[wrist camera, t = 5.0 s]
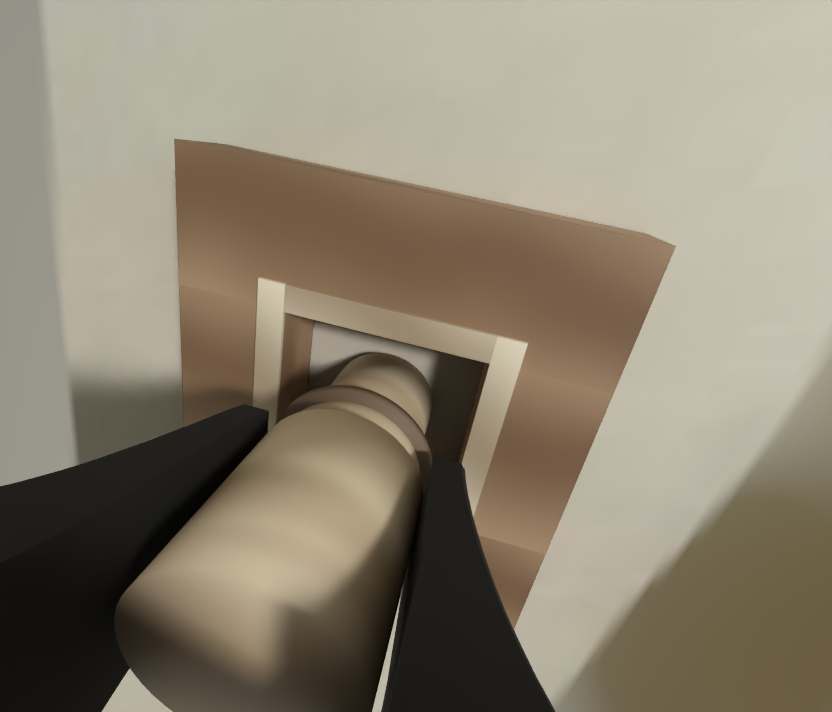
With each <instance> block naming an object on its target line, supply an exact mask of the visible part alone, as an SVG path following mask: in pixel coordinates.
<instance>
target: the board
mask: <svg viewBox="0 0 832 712" xmlns="http://www.w3.org/2000/svg"><path fill="white" fill-rule="evenodd" d="M174 144H175V174H176V205H177V235H178V266H179V296H180V327H181V357H182V388H183V418H184V427H186V426H188V425H191V424H193V423H196V422H198V421H201V420H203V419H206V418H208V417H211V416H213V415H216V414H218V413H221V412H223V411H226V410H229V409H231V408H234V407H237V406H240V405H243V404H246V405H250V406H253V407H257V408H260V409H264V410H268V411H269V419H268V432H269V431H270V430H271V428H272V427H274V426H275V424H276V422H277V420H278V419H279V417H280V416H281V414H282V413H283V412H284V411H285V410H286V408H287V407H288V406H289V405H290V404H291V403H292V402H293V401H295V400H296V399H297V398H298V397H300V396H301V395H303V394H304V393H306V392H307V385H308V375H309V365H310V355H311V345H312V335H313V324H314V320H317V321H321V322H325V323H329V324H333V325H337V326H341V327H345V328H349V329H353V330H357V331H361V332H365V333H369V334H373V335H377V336H381V337H385V338H389V339H393V340H397V341H401V342H405V343H409V344H413V345H417V346H421V347H425V348H429V349H433V350H437V351H441V352H445V353H449V354H453V355H457V356H460V357H464V358H468V359H472V360H476V361H480V362H484V363H485V365H484V368H483V372H482V376H481V379H480V383H479V386H478V390H477V393H476V397H475V401H474V404H473V408H472V411H471V415H470V419H469V422H468V426H467V429H466V433H465V437H464V440H463V444H462V447H461V451H460V455H459V458H458V462H457V463H460V464H462V466H463V467H464V469H465V476H466V484H467V490H468V496H469V501H470V505H471V510H472V514H473V518H474V522H475V525H476V529H477V532H478V535H479V539H480V542H481V546H482V549H483V552H484V555H485V558H486V561H487V564H488V567H489V570H490V572H491V575H492V578H493V581H494V583H495V586H496V589H497V591H498V594H499V596H500V599H501V601H502V604H503V606H504V609H505V611H506V613H507V616H508V618H509V620H510V622H511V625H512V627H513V629H514V628H515V625H516V623H517V621H518V618H519V616H520V614H521V611H522V609H523V606H524V604H525V602H526V599H527V597H528V595H529V592H530V590H531V588H532V585H533V583H534V580H535V578H536V576H537V573H538V571H539V569H540V566H541V564H542V561H543V559H544V557H545V554H546V552H547V550H548V547H549V545H550V543H551V540H552V538H553V535H554V533H555V531H556V528H557V526H558V524H559V521H560V519H561V517H562V514H563V512H564V509H565V507H566V505H567V502H568V500H569V498H570V495H571V493H572V491H573V488H574V486H575V483H576V481H577V479H578V476H579V474H580V472H581V469H582V467H583V465H584V462H585V460H586V457H587V455H588V453H589V450H590V448H591V446H592V443H593V441H594V439H595V436H596V434H597V431H598V429H599V427H600V424H601V422H602V420H603V417H604V415H605V413H606V410H607V408H608V405H609V403H610V401H611V398H612V396H613V394H614V391H615V389H616V387H617V384H618V382H619V379H620V377H621V375H622V372H623V370H624V368H625V365H626V363H627V361H628V358H629V356H630V353H631V351H632V349H633V346H634V344H635V342H636V339H637V337H638V334H639V332H640V330H641V327H642V325H643V323H644V320H645V318H646V316H647V313H648V311H649V308H650V306H651V304H652V301H653V299H654V297H655V294H656V292H657V290H658V287H659V285H660V282H661V280H662V278H663V275H664V273H665V271H666V268H667V266H668V264H669V261H670V259H671V256H672V254H673V252H674V249H675V247H676V246H674V245H672V244H670V243H667V242H665V241H662V240H660V239H658V238H655V237H653V236H651V235H648V234H645V233H640V232H635V231H631V230H626V229H621V228H617V227H612V226H607V225H602V224H598V223H593V222H588V221H584V220H579V219H574V218H570V217H565V216H560V215H555V214H551V213H546V212H541V211H537V210H532V209H527V208H523V207H518V206H513V205H508V204H504V203H499V202H494V201H490V200H485V199H480V198H476V197H471V196H466V195H461V194H457V193H452V192H447V191H443V190H438V189H433V188H429V187H424V186H419V185H414V184H410V183H405V182H400V181H396V180H391V179H386V178H382V177H377V176H372V175H367V174H363V173H358V172H353V171H349V170H344V169H339V168H335V167H330V166H325V165H320V164H316V163H311V162H306V161H302V160H297V159H292V158H288V157H283V156H278V155H273V154H269V153H264V152H259V151H255V150H250V149H245V148H241V147H236V146H231V145H226V144H218V143H208V142H199V141H190V140H181V139H174ZM402 588H403V587H402ZM401 595H402V591H401ZM401 595H400V598H401Z"/></svg>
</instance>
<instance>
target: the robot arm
mask: <svg viewBox="0 0 832 712" xmlns="http://www.w3.org/2000/svg"><path fill="white" fill-rule="evenodd" d="M268 419H269V411H268V410H264V409H260V408H257V407H253V406H250V405H246V404H243V405H240V406H237V407H234V408H231V409H229V410H226V411H223V412H221V413H218V414H216V415H213V416H211V417H208V418H206V419H203V420H201V421H198V422H196V423H193V424H191V425H188V426H186V427H183V428H181V429H178V430H175V431H173V432H170V433H168V434H165V435H163V436H160V437H158V438H155V439H152V440H150V441H147V442H144V443H141V444H138V445H136V446H133V447H130V448H127V449H124V450H121V451H119V452H116V453H113V454H110V455H107V456H105V457H102V458H99V459H96V460H93V461H90V462H87V463H84V464H80V465H77V466H74V467H71V468H67V469H64V470H61V471H57V472H54V473H50V474H46V475H43V476H39V477H36V478H32V479H28V480H25V481H21V482H17V483H13V484H9V485H5V486H0V712H102V710H103V709H104V707H105V705H106V704H107V702H108V701H109V699H110V698H111V696H112V694H113V693H114V691H115V690H116V688H117V687H118V685H119V683H120V682H121V680H122V679H123V677H124V676H125V674H126V673H127V671H128V670H129V668H130V667H129V665H128V664H127V662H126V661H125V659H124V657H123V655H122V653H121V651H120V648H119V645H118V642H117V640H116V635H115V629H114V615H115V610H116V606H117V604H118V602H119V600H120V598H121V596H122V595H123V594H124V592H125V591H126V590H127V589H128V588H129V586H130V585H131V584H132V583H133V582H134V581H135V580H136V579H137V577H138V576H139V575H140V574H141V573H142V572H143V571H144V570H145V569H146V567H147V566H148V565H149V564H150V563H151V562H152V561H153V560H154V559H155V557H156V556H157V555H158V554H159V553H160V552H161V551H162V550H163V549H164V547H165V546H166V545H167V544H168V543H169V542H170V541H171V540H172V539H173V537H174V536H175V535H176V534H177V533H178V532H179V531H180V530H181V529H182V527H183V526H184V525H185V524H186V523H187V522H188V521H189V520H190V519H191V517H192V516H193V515H194V514H195V513H196V512H197V511H198V510H199V509H200V507H201V506H202V505H203V504H204V503H205V502H206V501H207V500H208V499H209V497H210V496H211V495H212V494H213V493H214V492H215V491H216V490H217V489H218V487H219V486H220V485H221V484H222V483H223V482H224V481H225V480H226V479H227V477H228V476H229V475H230V474H231V473H232V472H233V471H234V470H235V469H236V467H237V466H238V465H239V464H240V463H241V462H242V461H243V460H244V458H245V457H246V456H247V455H248V454H249V453H250V452H251V451H252V450H253V448H254V447H255V446H256V445H257V444H258V443H259V442H260V441H261V440H262V438H263V437H264V436H265V435H266V434H267V433H268ZM381 712H555V710H554V708H553V706H552V704H551V703H550V701H549V699H548V697H547V695H546V694H545V692H544V690H543V688H542V686H541V684H540V683H539V681H538V679H537V677H536V675H535V673H534V671H533V669H532V667H531V665H530V663H529V661H528V659H527V657H526V655H525V653H524V651H523V649H522V646H521V644H520V642H519V640H518V638H517V636H516V634H515V631H514V629H513V627H512V625H511V622H510V620H509V618H508V616H507V613H506V611H505V609H504V606H503V604H502V601H501V599H500V596H499V594H498V591H497V589H496V586H495V583H494V581H493V578H492V575H491V572H490V570H489V567H488V564H487V561H486V558H485V555H484V552H483V549H482V546H481V542H480V539H479V535H478V532H477V529H476V525H475V522H474V518H473V514H472V510H471V505H470V501H469V496H468V490H467V484H466V476H465V469H464V467H463V466H462V464H460V463H456V462H452V461H449V460H445V459H441V458H438V457H434V459H433V463H432V467H431V470H430V474H429V478H428V482H427V486H426V490H425V494H424V498H423V502H422V506H421V510H420V514H419V518H418V522H417V528H416V533H415V537H414V542H413V546H412V550H411V554H410V558H409V562H408V566H407V570H406V575H405V579H404V583H403V588H402V595H401V601H400V607H399V613H398V619H397V625H396V632H395V638H394V644H393V650H392V656H391V663H390V669H389V675H388V681H387V686H386V691H385V696H384V701H383V706H382V711H381Z"/></svg>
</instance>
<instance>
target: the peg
mask: <svg viewBox="0 0 832 712" xmlns="http://www.w3.org/2000/svg"><path fill="white" fill-rule="evenodd" d="M432 406H433V399H432V393H431V390H430V387H429V384H428V383H427V381H426V379H425V378H424V376H423V375H422V373H421V372H420V371H419V370H418V369H417V368H416V367H414V366H413V365H412V364H411V363H409V362H408V361H406V360H404V359H402V358H400V357H397V356H394V355H391V354H385V353H371V354H366V355H363V356H360V357H358V358H356V359H354V360H353V361H351V362H350V363H349V364H347V365H346V367H345V368H344V369H343V370H342V371H341V373H340V374H339V375H338V376H337V378H336V379H335V380H334V381H333V382H332V384H331V385H330V386H324V387H320V388H316V389H313V390H311V391H309V392H306V393H304V394H303V395H301V396H300V397H298V398H297V399H296V400H295V401H293V402H292V403H291V404H290V405H289V406H288V407H287V408H286V410H285V411H284V412H283V413H282V414H281V416H280V417H279V419H278V420H277V422H276V424H275V426H274V427H272V428H271V430H270V431H269V432H268V433H267V434H266V435H265V436H264V437H263V438H262V440H261V441H260V442H259V443H258V444H257V445H256V446H255V447H254V448H253V450H252V451H251V452H250V453H249V454H248V455H247V456H246V457H245V458H244V460H243V461H242V462H241V463H240V464H239V465H238V466H237V467H236V469H235V470H234V471H233V472H232V473H231V474H230V475H229V476H228V477H227V479H226V480H225V481H224V482H223V483H222V484H221V485H220V486H219V487H218V489H217V490H216V491H215V492H214V493H213V494H212V495H211V496H210V497H209V499H208V500H207V501H206V502H205V503H204V504H203V505H202V506H201V507H200V509H199V510H198V511H197V512H196V513H195V514H194V515H193V516H192V517H191V519H190V520H189V521H188V522H187V523H186V524H185V525H184V526H183V527H182V529H181V530H180V531H179V532H178V533H177V534H176V535H175V536H174V537H173V539H172V540H171V541H170V542H169V543H168V544H167V545H166V546H165V547H164V549H163V550H162V551H161V552H160V553H159V554H158V555H157V556H156V557H155V559H154V560H153V561H152V562H151V563H150V564H149V565H148V566H147V567H146V569H145V570H144V571H143V572H142V573H141V574H140V575H139V576H138V577H137V579H136V580H135V581H134V582H133V583H132V584H131V585H130V586H129V588H128V589H127V590H126V591H125V592H124V594H123V595H122V596H121V598H120V600H119V602H118V604H117V606H116V610H115V615H114V629H115V635H116V640H117V642H118V645H119V648H120V651H121V653H122V655H123V657H124V659H125V661H126V662H127V664H128V665H129V667H130V668H131V670H132V672H133V673H134V674H135V675H136V677H137V678H138V679H139V680H140V682H141V683H142V684H143V685H144V686H145V687H146V688H147V689H148V690H149V691H150V692H151V693H152V694H153V695H154V696H155V697H156V698H157V699H158V700H159V701H160V702H162V703H163V704H164V705H165V706H166V707H168V708H169V709H170V710H172V711H173V712H372V709H373V705H374V701H375V697H376V692H377V688H378V684H379V680H380V676H381V672H382V668H383V664H384V660H385V656H386V652H387V648H388V644H389V640H390V636H391V631H392V627H393V623H394V619H395V615H396V611H397V607H398V603H399V599H400V595H401V591H402V587H403V583H404V579H405V575H406V570H407V566H408V562H409V558H410V554H411V550H412V546H413V542H414V537H415V533H416V528H417V522H418V518H419V514H420V510H421V506H422V502H423V498H424V494H425V490H426V486H427V482H428V478H429V474H430V470H431V467H432V463H433V462H432V454H431V450H430V446H429V444H428V441H427V439H426V437H425V433H426V429H427V426H428V423H429V419H430V416H431V412H432Z"/></svg>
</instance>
